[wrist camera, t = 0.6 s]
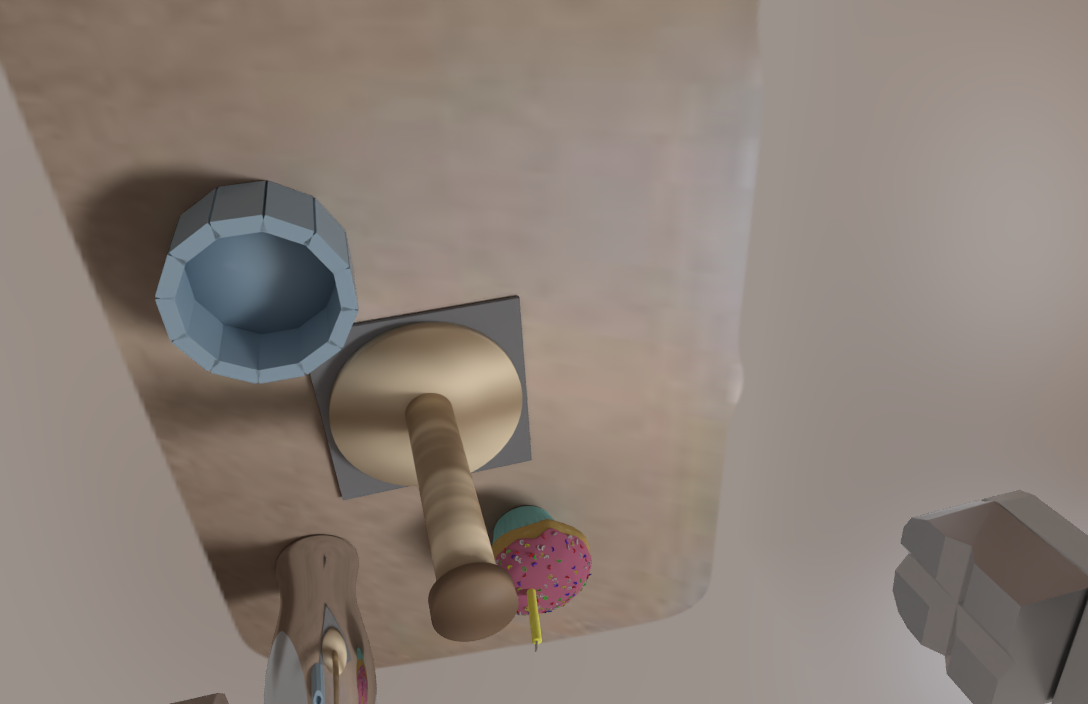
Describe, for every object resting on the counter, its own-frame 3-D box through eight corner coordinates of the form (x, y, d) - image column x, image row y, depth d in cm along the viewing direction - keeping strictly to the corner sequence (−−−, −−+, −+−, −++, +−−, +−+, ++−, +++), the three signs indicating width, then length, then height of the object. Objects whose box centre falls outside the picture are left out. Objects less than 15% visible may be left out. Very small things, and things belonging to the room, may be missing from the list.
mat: (300, 333, 49) (300, 335, 49) (518, 295, 51) (519, 298, 51) (342, 497, 56) (343, 500, 56) (530, 457, 59) (531, 460, 59)
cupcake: (460, 564, 63) (490, 695, 54) (483, 483, 59) (520, 608, 50) (559, 563, 66) (604, 687, 57) (587, 486, 62) (641, 605, 53)
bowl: (146, 196, 42) (130, 233, 38) (333, 171, 44) (336, 204, 40) (199, 349, 48) (190, 396, 44) (363, 321, 49) (369, 363, 45)
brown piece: (310, 341, 49) (315, 551, 34) (512, 305, 51) (598, 488, 37) (348, 493, 56) (367, 721, 41) (524, 456, 59) (600, 659, 44)
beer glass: (271, 600, 60) (264, 792, 48) (266, 533, 56) (258, 722, 44) (363, 590, 62) (380, 772, 50) (365, 525, 58) (383, 704, 46)
